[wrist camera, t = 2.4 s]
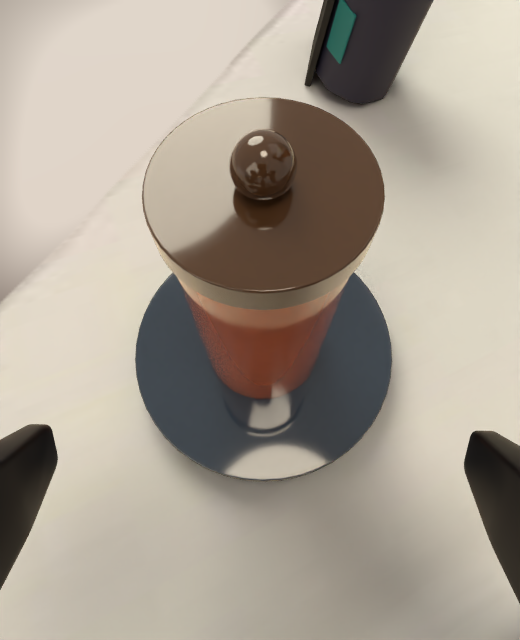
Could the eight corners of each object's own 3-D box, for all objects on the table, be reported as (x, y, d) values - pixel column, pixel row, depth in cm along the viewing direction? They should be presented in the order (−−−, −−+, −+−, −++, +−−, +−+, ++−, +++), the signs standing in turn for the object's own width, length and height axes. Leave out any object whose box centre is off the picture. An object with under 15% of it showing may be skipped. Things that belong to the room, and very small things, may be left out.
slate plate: (314, 538, 19) (318, 541, 18) (91, 396, 22) (81, 389, 21) (422, 313, 24) (431, 302, 22) (225, 216, 26) (223, 201, 25)
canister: (286, 427, 20) (322, 313, 8) (181, 364, 21) (65, 180, 9) (342, 324, 22) (444, 102, 10) (243, 273, 23) (220, 17, 11)
